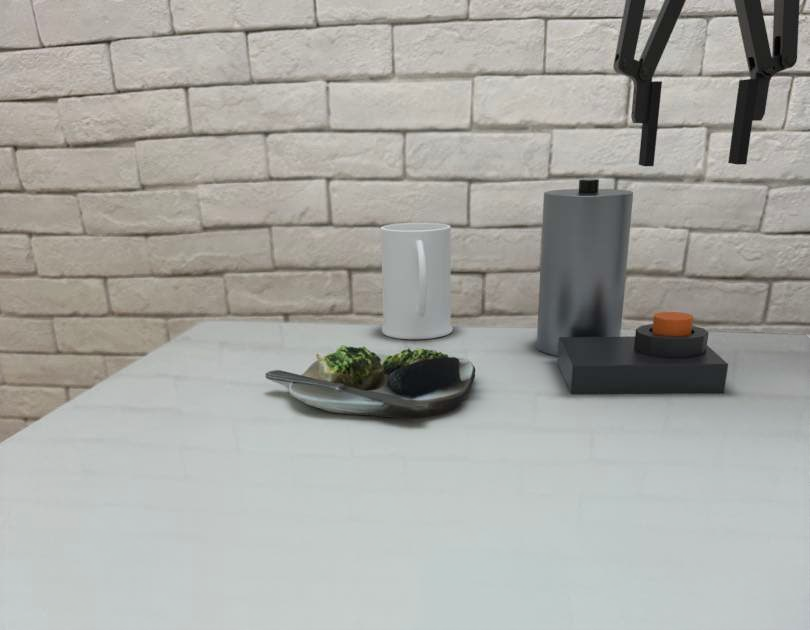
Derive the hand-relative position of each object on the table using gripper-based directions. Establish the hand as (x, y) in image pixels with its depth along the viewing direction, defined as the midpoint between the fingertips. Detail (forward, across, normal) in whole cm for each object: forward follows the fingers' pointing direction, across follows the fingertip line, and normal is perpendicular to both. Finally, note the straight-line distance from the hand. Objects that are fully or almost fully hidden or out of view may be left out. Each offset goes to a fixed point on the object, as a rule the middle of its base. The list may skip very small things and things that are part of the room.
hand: (691, 164), depth 75 cm
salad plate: (+19, -27, -5) cm, 34 cm away
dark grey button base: (+19, -3, 0) cm, 19 cm away
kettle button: (+15, 0, 0) cm, 15 cm away
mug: (+19, -25, +19) cm, 37 cm away
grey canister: (+19, -7, +12) cm, 24 cm away
